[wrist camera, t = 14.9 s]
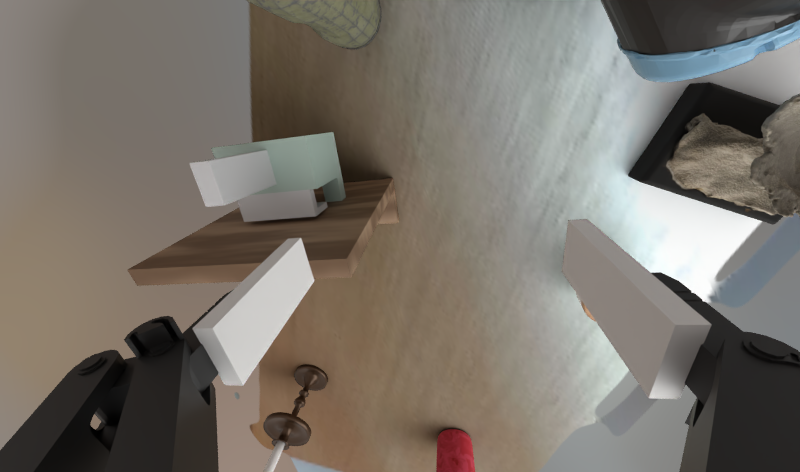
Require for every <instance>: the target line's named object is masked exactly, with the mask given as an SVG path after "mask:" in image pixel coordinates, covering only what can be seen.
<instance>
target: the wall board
mask: <svg viewBox="0 0 800 472" xmlns="http://www.w3.org/2000/svg"><path fill="white" fill-rule="evenodd" d="M343 184H344V190H345V195H346V198H344V199H343V200H342V201H333V202H327V206H328V207H327V208H326V209H325V210H324V211H322V212H321V213H320V214H318V215H317V216H315V217H302V218H289V219H276V220H264V221H251V222H244V220H243V217H242V214H241V211H240V208H237V209H235V210H234V211H232V212H230V213H228V214H227V215H225V216H223V217H221V218H219V219H218V220H216V221H214V222H212V223H210V224H209V225H207V226H205V227H203V228H201V229H200V230H198V231H196V232H194V233H192V234H191V235H189V236H187V237H185V238H183V239H182V240H180V241H178V242H176V243H174V244H173V245H171V246H169V247H167V248H165V249H164V250H162V251H160V252H159V253H157V254H155V255H153V256H151V257H149V258H148V259H146V260H144V261H143V262H141V263H139V264H137V265H135V266H133V267H131V268H130V269H128V272H129V273H130V275H131V276H132V278H133V280H134V281H135V283H136V284H137V286H139V285H166V284H190V283H191V284H192V283H215V282H216V283H217V282H242V281H243V280H244V279H245V278H247V277H248V276H249V275H250V274H251V273H252V272H253V271H254V270H255V269H256V268H257V267H258V266H259V265H260V264H261V263H262V262H264V261H265V260H266V259H267V258H268V257H269V256H270V255H271V254H272V253H273V252H274V251H275V250H276V249H277V248H278V247H279V246H281V245H282V244H283V243H284V242H285V241H286V240H287V239H289V238H301V239H302V242H303V245H304V249H305V252H306V255H307V258H308V262H309V265H310V268H311V271H312V275H313V278H314V279H321V278H347V277H352V275H353V273H354V271H355V269H356V267H357V265H358V263H359V261H360V259H361V257H362V255H363V253H364V250H365V248H366V246H367V244H368V242H369V240H370V238H371V236H372V234H373V232H374V230H375V228H376V226H377V224H389V223H398V221H399V216H398V209H397V202H396V195H395V188H394V181H393V178H389V179H379V180H368V181H358V182H348V183H343ZM313 190H314V194H315V198H316V202H326V201H325V197H324V192H323V188H322V186H321V187H319V188H318V189H313Z"/></svg>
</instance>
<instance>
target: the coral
mask: <svg viewBox="0 0 800 472" xmlns="http://www.w3.org/2000/svg"><path fill="white" fill-rule="evenodd" d="M628 176H629V177H631V178H633V179H635V180H637V181H639V182H642V183H645V184H648V185H651V186H654V187H657V188H660V189H664V190H667V191H670V192H673V193H676V194H679V195H682V196H685V197H688V198H691V199H695V200H698V201H701V202H704V203H707V204H710V205H714V206H717V207H720V208H723V209H726V210H729V211H732V212H735V213H739V214H742V215H745V216H748V217H751V218H754V219H757V220H761V221H764V222H767V223H770V224H775V223H776V222H778V221H779V220H780V219H781V218H782V217H783V216H784V217H788V216H790V217H793V214H794V213H796V214H798V215H799V217H800V94H798V95H796V96H793V97H792V98H790V99H789V100H787V101H785V102H784V103H783V104H782V105H777V104H774V103H770V102H767V101H764V100H761V99H758V98H755V97H752V96H749V95H746V94H743V93H740V92H737V91H734V90H731V89H728V88H725V87H722V86H719V85H716V84H713V83H709V82H707V83H695V84H690V85H689V86H688V87H687V88H686V90H685V92H684V93H683V94H682V96H681V97H680V99H679V100H678V102H677V103H676V105H675V106H674V108H673V109H672V111H671V112H670V114H669V115H668V117H667V118H666V120H665V121H664V123H663V124H662V126H661V127H660V129H659V130H658V132H657V133H656V135H655V136H654V138H653V139H652V141H651V142H650V144H649V145H648V147H647V149H646V150H645V151H644V153H643V154H642V155H641V157H640V158H639V160H638V161H637V163H636V164H635V166H634V167H633V169H632V170H631V172H630V173H629V175H628Z"/></svg>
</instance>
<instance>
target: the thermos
mask: <svg viewBox="0 0 800 472" xmlns="http://www.w3.org/2000/svg"><path fill="white" fill-rule="evenodd" d="M247 1H248V2H250V3H252V4H254V5H256V6H258V7H260V8H262V9H265V10H267V11H269V12H271V13H273V14H275V15H277V16H279V17H281V18H283V19H286V20H288V21H290V22H293V23H304V24H306V25H308V26H310V27H312V28H313V30H314V31H315V32H316V33H317V34H318V35H320V36H321V37H322V38H323V39H325V40H327V41H329V42H331V43H333V44H335V45H338V46H340V47H342V48H347V49H359V48H362V47H365V46H366V45H367V44H369V43H370V42H371V41H372V40H373V39H374V37H375V35H376V34H377V32H378V29H379V26H380V22H381V6H380V1H379V0H247Z"/></svg>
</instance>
